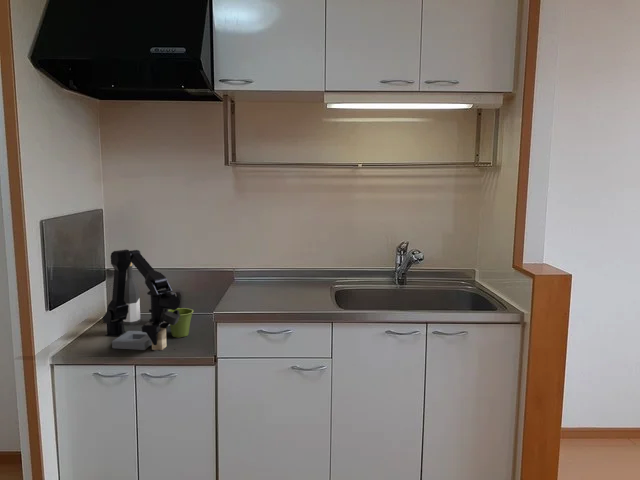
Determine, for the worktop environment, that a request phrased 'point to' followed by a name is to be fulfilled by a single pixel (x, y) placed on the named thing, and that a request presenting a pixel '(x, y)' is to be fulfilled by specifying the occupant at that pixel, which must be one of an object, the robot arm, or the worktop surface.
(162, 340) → the maple peg
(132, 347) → the socket block
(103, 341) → the worktop surface
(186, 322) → the plant pot
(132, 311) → the wine bottle
